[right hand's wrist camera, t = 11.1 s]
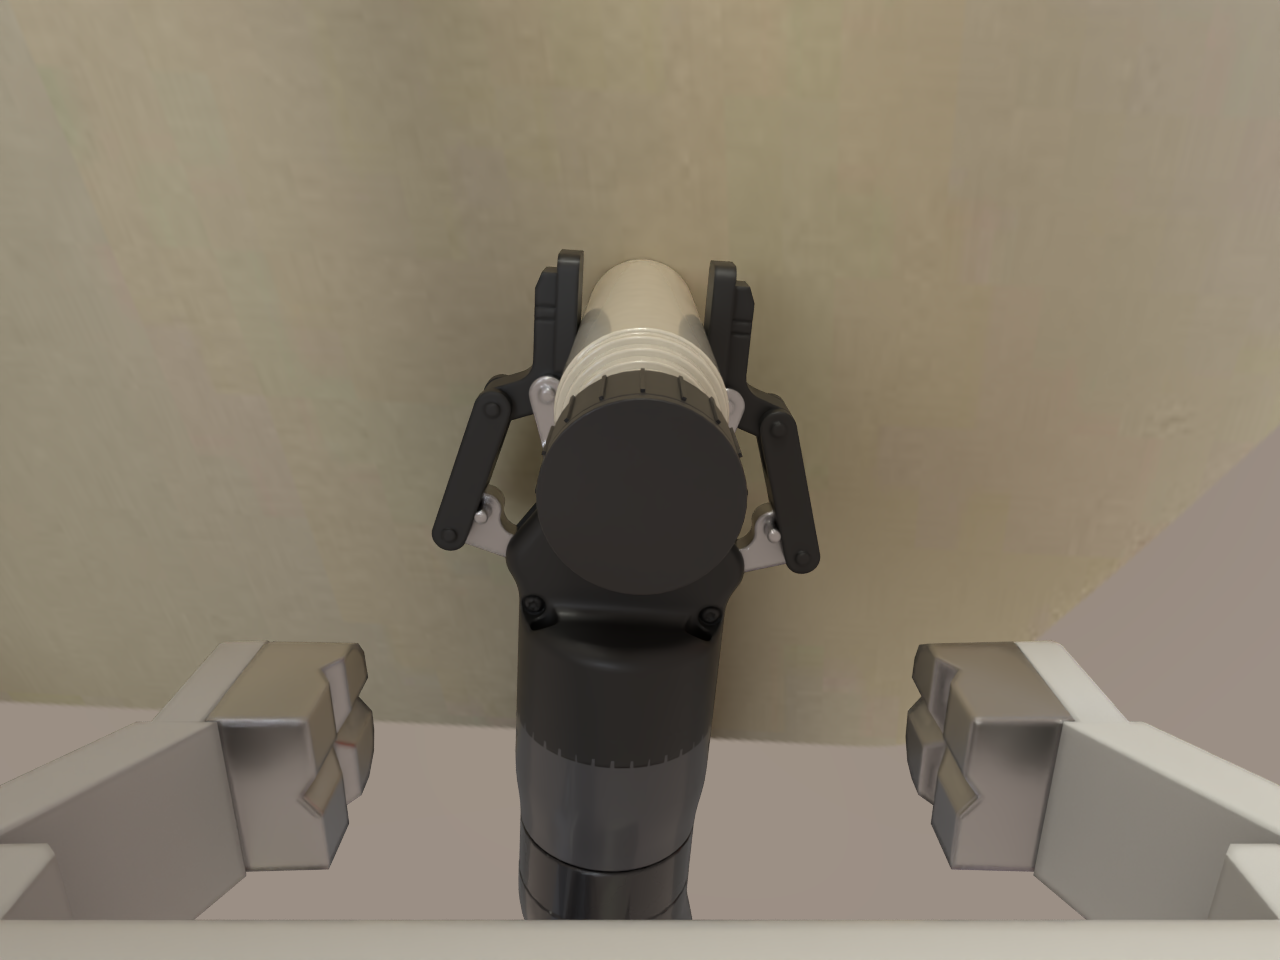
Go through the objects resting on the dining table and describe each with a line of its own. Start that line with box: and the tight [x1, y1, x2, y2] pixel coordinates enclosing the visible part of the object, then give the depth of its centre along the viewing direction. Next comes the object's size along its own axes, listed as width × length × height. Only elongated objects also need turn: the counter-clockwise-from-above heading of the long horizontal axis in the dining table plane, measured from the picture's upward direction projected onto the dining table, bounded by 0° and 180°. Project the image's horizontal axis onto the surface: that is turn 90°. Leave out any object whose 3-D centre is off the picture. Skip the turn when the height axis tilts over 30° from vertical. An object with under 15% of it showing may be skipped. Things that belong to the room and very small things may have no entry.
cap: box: [535, 368, 748, 595], centre depth 17 cm, size 4×4×2 cm
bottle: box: [554, 259, 729, 424], centre depth 26 cm, size 4×4×20 cm
